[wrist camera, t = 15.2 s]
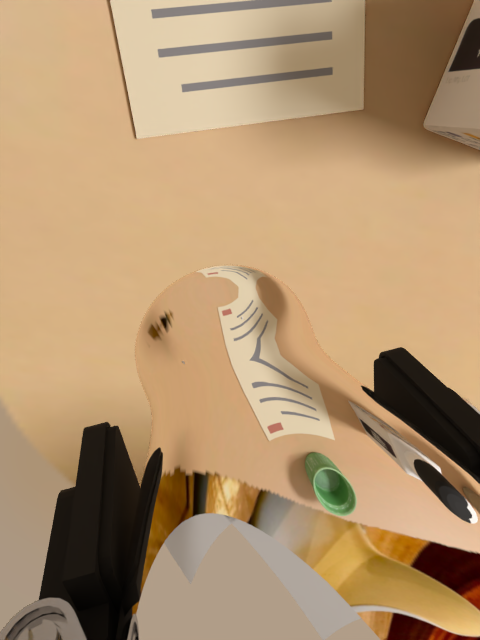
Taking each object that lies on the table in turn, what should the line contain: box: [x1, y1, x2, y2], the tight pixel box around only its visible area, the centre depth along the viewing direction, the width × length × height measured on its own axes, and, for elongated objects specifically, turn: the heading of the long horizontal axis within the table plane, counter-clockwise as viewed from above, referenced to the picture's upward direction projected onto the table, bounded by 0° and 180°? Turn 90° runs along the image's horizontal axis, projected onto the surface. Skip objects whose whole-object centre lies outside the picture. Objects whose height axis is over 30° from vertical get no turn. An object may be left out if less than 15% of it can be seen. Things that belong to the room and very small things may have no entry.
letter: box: [110, 0, 365, 139], centre depth 25 cm, size 11×14×1 cm
